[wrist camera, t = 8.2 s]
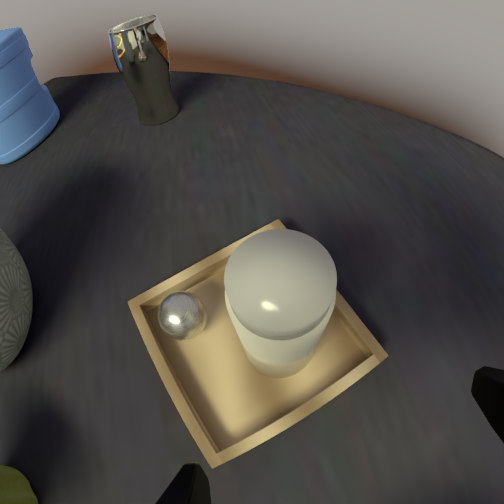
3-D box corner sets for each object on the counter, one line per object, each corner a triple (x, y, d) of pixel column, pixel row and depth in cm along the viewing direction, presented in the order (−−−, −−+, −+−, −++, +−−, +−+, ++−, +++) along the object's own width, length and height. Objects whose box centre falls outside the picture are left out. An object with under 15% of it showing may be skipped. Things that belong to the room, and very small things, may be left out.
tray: (217, 464, 18) (212, 468, 16) (137, 311, 25) (127, 301, 23) (379, 361, 21) (388, 355, 19) (278, 232, 28) (278, 219, 26)
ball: (178, 354, 22) (162, 341, 19) (159, 315, 24) (142, 297, 21) (219, 331, 23) (210, 314, 20) (198, 294, 25) (187, 273, 22)
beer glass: (185, 118, 39) (160, 19, 26) (136, 133, 38) (102, 38, 26) (180, 97, 42) (159, 10, 30) (136, 110, 42) (108, 26, 29)
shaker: (287, 391, 20) (296, 360, 11) (231, 351, 22) (194, 287, 13) (327, 336, 22) (362, 261, 13) (272, 300, 24) (267, 208, 14)
